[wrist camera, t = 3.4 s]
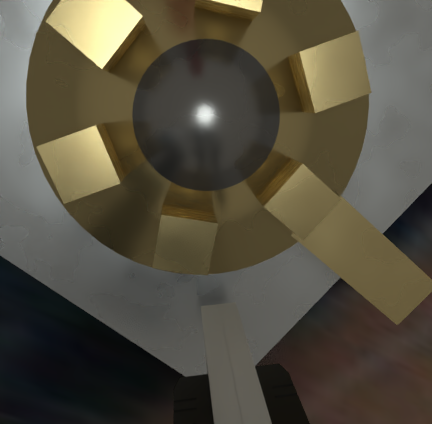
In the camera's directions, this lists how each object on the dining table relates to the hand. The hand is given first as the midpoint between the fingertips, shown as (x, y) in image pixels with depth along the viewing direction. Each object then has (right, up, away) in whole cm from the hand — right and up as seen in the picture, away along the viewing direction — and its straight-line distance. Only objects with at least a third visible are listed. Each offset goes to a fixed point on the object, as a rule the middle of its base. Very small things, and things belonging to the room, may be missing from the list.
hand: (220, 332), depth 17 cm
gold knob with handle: (+1, +7, 0) cm, 7 cm away
